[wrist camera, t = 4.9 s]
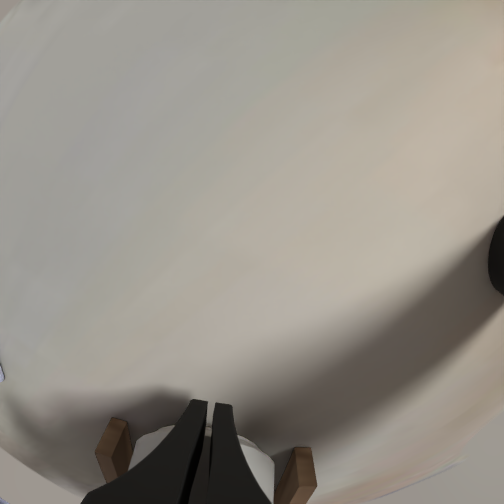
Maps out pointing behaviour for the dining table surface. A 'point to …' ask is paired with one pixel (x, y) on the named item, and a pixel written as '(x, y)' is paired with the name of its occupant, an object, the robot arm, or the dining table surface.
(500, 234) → the drinking cup
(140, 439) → the can
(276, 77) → the dining table surface
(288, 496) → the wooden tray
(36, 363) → the dining table surface
